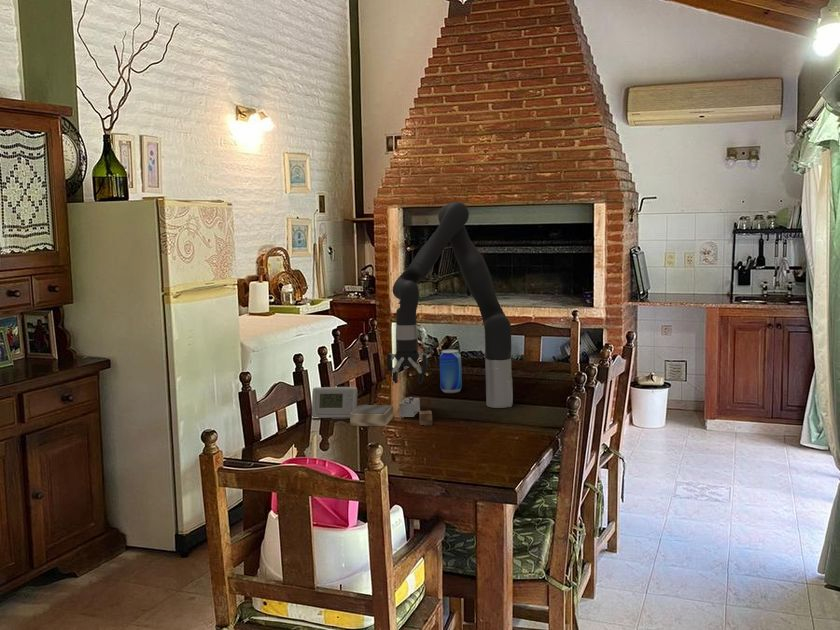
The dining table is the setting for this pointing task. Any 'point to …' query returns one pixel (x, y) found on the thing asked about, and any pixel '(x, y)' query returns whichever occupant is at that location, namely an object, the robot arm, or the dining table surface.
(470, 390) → the dining table surface
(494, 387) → the robot arm
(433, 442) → the dining table surface
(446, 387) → the beer can
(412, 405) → the housing
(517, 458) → the dining table surface
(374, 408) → the stand
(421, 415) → the walnut block
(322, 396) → the digital clock
